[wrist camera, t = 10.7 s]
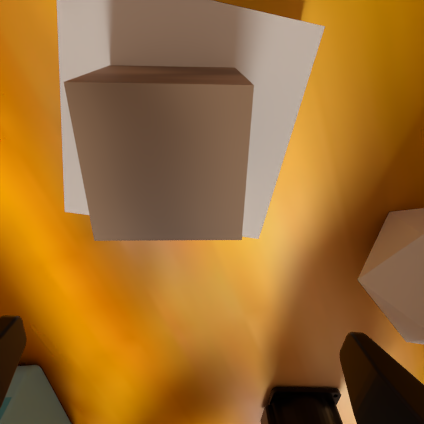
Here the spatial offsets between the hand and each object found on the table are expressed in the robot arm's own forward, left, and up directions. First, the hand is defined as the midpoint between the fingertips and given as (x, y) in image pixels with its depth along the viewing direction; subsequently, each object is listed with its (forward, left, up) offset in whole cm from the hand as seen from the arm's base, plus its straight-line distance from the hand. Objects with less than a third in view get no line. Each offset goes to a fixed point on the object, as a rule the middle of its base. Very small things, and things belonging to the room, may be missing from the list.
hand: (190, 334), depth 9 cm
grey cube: (+1, -4, -8) cm, 9 cm away
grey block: (+1, -3, -12) cm, 13 cm away
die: (-15, +4, -12) cm, 19 cm away
